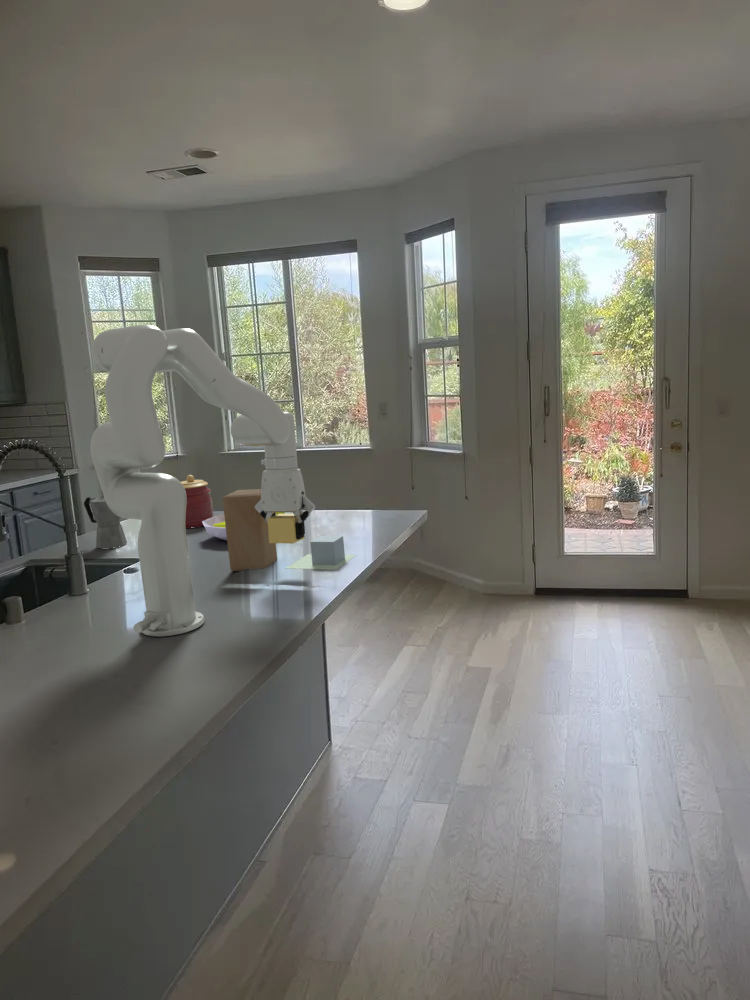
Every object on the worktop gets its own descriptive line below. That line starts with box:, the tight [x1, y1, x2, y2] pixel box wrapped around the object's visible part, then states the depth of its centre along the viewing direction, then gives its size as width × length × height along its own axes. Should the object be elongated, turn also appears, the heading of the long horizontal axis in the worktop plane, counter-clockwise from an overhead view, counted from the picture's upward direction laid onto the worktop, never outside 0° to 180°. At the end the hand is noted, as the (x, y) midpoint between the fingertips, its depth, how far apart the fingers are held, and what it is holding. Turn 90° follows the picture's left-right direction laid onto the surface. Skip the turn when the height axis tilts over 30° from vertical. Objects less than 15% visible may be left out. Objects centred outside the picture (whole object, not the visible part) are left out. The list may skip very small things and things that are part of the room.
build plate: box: [284, 553, 357, 571], centre depth 189 cm, size 14×14×1 cm
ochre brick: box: [267, 513, 306, 544], centre depth 178 cm, size 6×6×6 cm
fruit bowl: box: [202, 512, 287, 541], centre depth 230 cm, size 28×27×11 cm
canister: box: [180, 474, 215, 529], centre depth 254 cm, size 13×13×18 cm
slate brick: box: [309, 535, 346, 565], centre depth 188 cm, size 6×6×6 cm
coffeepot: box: [83, 491, 128, 549], centre depth 231 cm, size 15×9×18 cm, turn 67°
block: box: [222, 488, 278, 572], centre depth 191 cm, size 10×10×20 cm
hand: (286, 537), depth 178 cm, fingers closed on ochre brick, 6 cm apart
